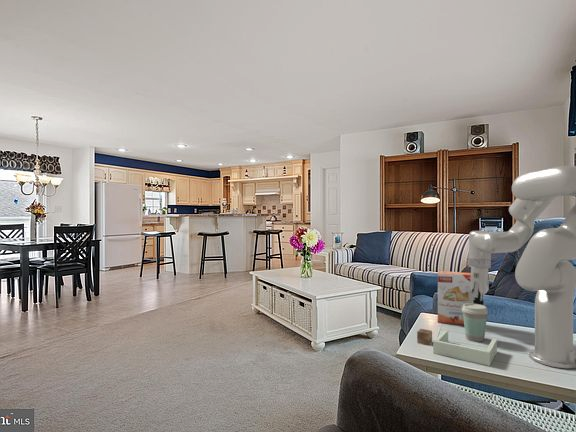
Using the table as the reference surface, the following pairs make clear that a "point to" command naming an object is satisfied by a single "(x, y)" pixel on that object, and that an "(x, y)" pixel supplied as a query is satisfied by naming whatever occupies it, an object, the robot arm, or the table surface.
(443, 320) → the cracker box
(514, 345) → the table surface
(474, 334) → the coffee cup
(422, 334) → the walnut block
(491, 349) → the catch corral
